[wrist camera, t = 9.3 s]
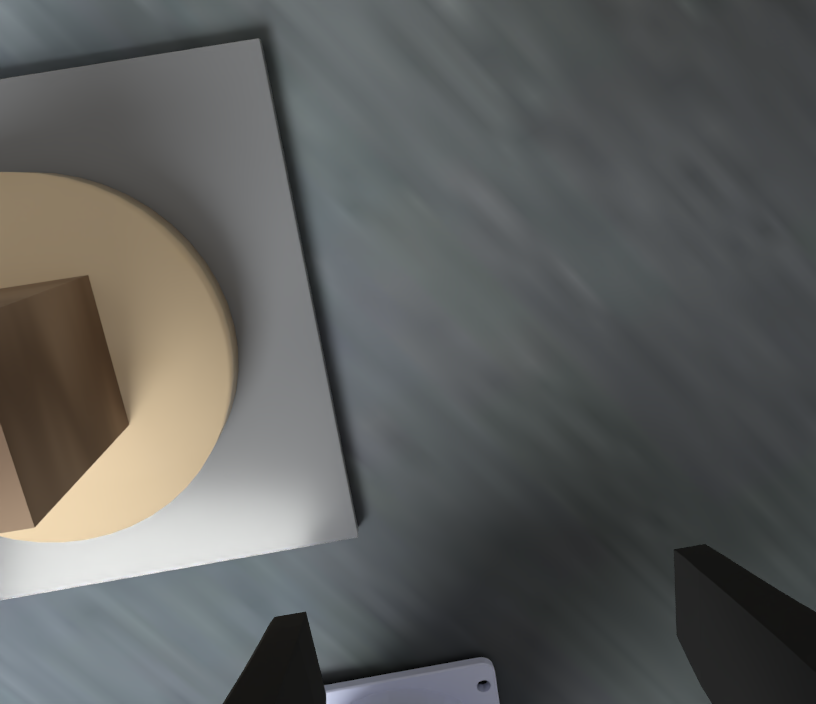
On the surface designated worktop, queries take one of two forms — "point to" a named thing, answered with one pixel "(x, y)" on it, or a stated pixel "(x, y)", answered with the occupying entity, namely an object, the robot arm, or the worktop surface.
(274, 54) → the worktop surface
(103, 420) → the block
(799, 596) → the worktop surface
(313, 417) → the base
